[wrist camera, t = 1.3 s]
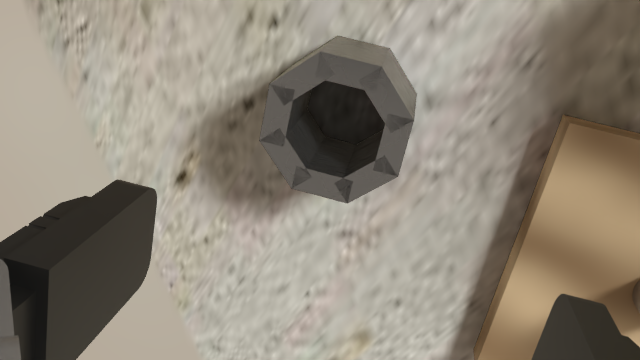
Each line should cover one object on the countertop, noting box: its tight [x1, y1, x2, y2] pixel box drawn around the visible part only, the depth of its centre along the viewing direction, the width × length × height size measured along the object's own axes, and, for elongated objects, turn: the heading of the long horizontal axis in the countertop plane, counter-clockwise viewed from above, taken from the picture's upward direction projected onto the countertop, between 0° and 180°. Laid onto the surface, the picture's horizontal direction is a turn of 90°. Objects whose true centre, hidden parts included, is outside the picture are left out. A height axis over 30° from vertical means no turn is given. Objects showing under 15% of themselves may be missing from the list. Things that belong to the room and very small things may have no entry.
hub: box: [259, 36, 417, 203], centre depth 28 cm, size 6×6×5 cm
